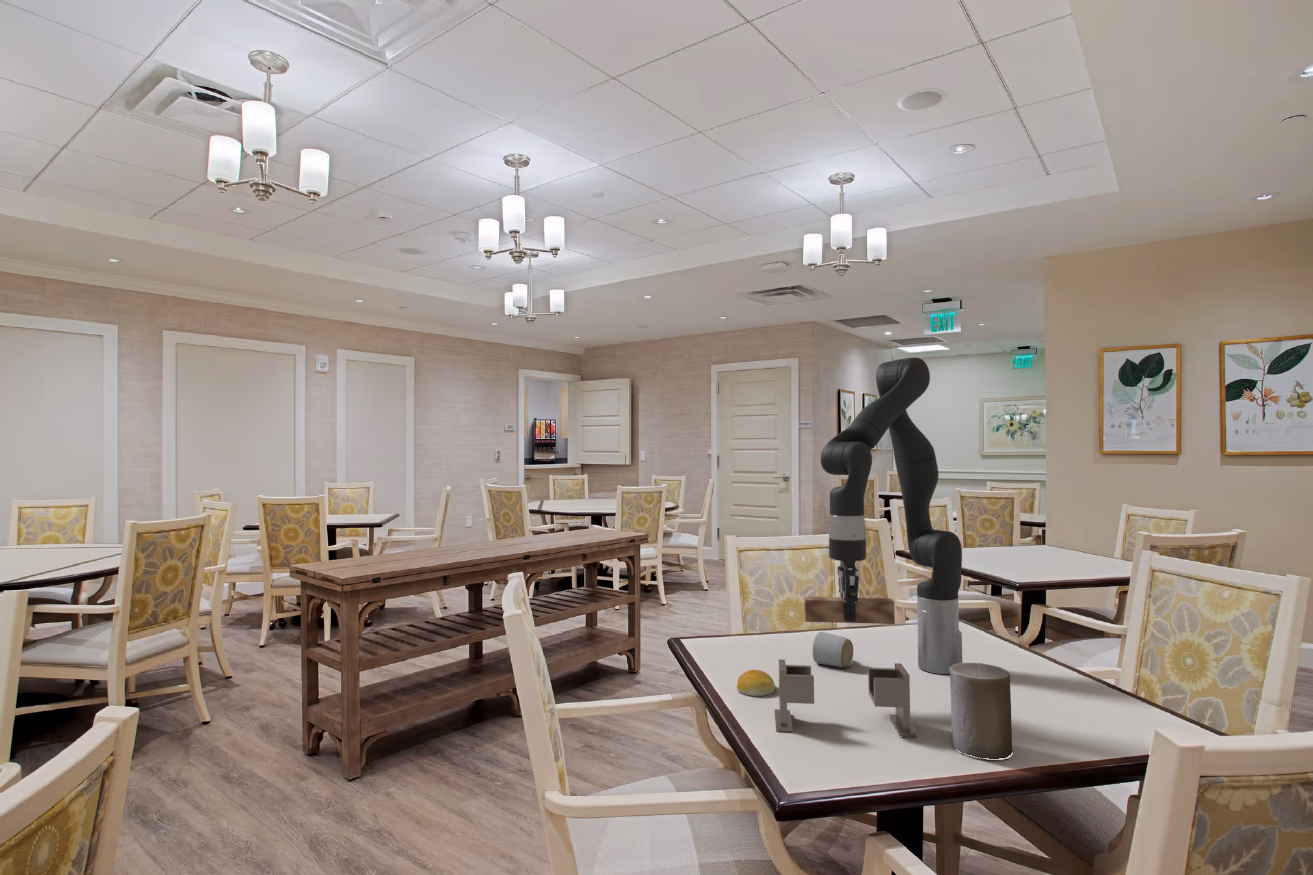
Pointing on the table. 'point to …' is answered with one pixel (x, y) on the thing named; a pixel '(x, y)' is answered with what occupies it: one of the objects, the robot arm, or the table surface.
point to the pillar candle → (981, 710)
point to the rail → (834, 610)
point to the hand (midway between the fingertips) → (848, 618)
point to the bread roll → (755, 683)
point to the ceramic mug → (832, 650)
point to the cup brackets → (883, 689)
